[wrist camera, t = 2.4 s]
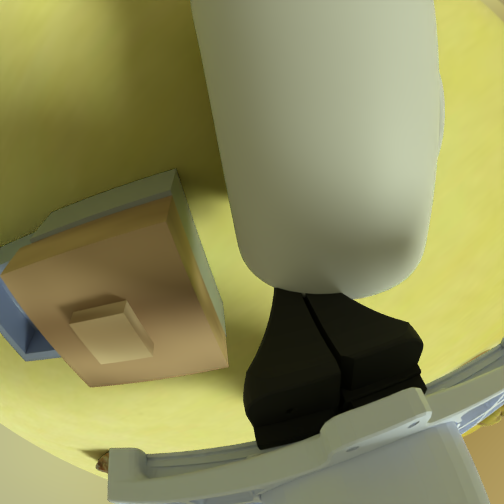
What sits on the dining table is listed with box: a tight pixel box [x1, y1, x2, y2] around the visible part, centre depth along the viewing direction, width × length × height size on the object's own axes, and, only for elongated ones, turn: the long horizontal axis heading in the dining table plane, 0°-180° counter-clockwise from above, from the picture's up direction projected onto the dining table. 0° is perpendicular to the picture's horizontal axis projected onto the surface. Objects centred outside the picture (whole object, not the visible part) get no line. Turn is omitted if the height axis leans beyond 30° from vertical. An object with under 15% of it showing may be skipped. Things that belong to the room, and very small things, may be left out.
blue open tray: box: [0, 232, 61, 361], centre depth 17 cm, size 8×8×3 cm
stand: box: [30, 169, 226, 336], centre depth 16 cm, size 10×8×3 cm
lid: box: [0, 195, 229, 387], centre depth 14 cm, size 9×9×3 cm
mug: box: [190, 0, 445, 299], centre depth 11 cm, size 12×8×11 cm
